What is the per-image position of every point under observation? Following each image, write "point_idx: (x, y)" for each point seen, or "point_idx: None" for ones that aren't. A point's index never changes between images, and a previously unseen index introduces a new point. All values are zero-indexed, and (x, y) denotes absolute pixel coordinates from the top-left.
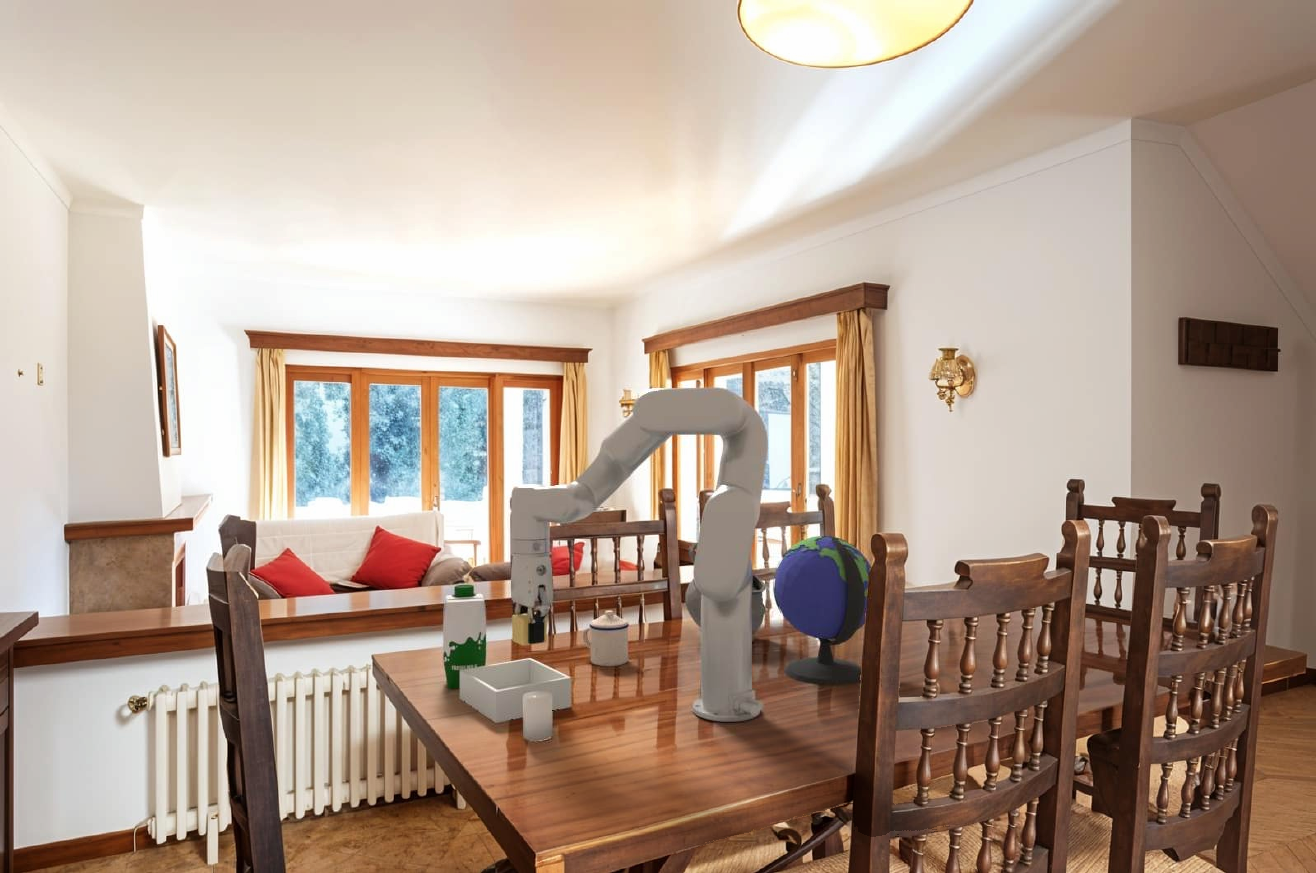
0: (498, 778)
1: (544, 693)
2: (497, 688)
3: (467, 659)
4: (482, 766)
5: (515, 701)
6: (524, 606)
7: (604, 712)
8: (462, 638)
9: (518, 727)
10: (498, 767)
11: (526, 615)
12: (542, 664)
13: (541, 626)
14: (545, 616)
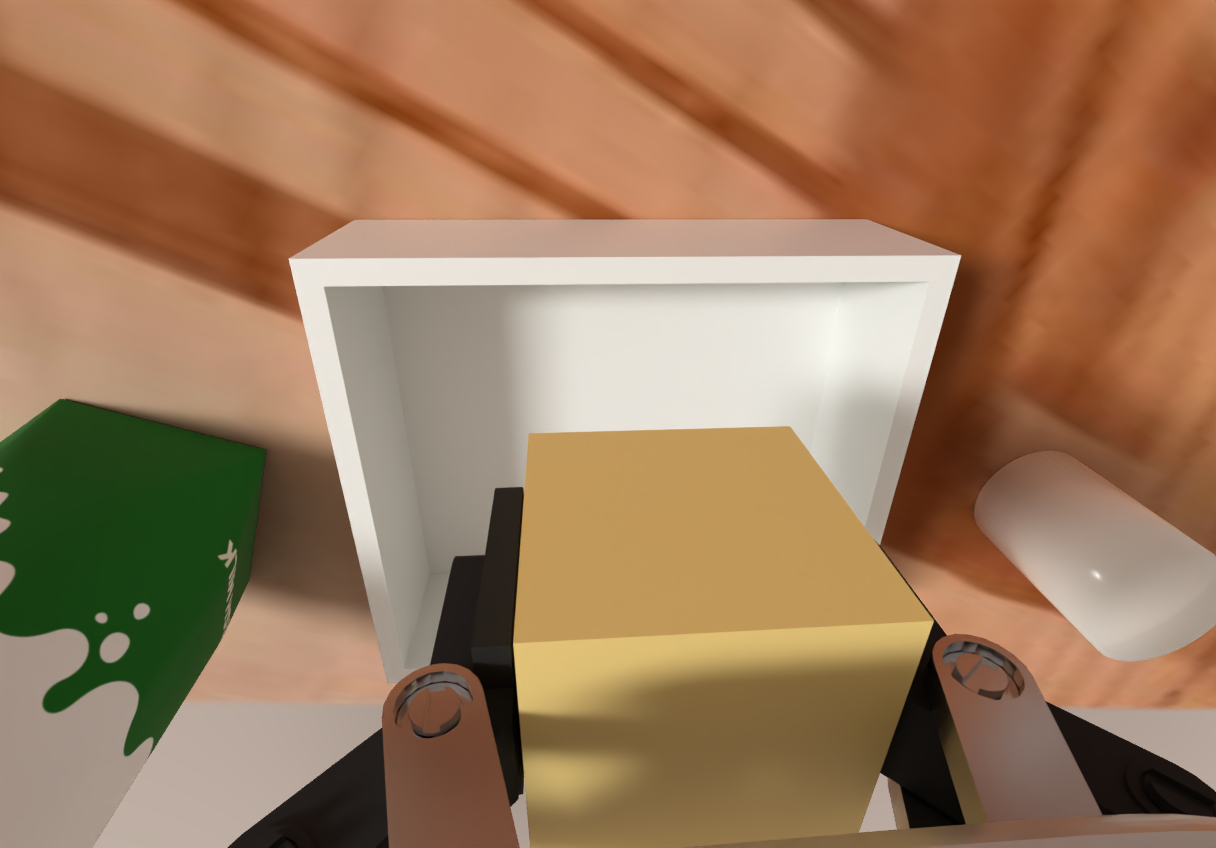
0: (1158, 674)
1: (1173, 580)
2: (404, 435)
3: (211, 628)
4: (1063, 682)
5: None
6: (383, 845)
7: (1074, 105)
8: (127, 778)
9: (896, 516)
10: (1107, 657)
11: (651, 782)
12: (531, 268)
13: (932, 632)
14: (1141, 752)
